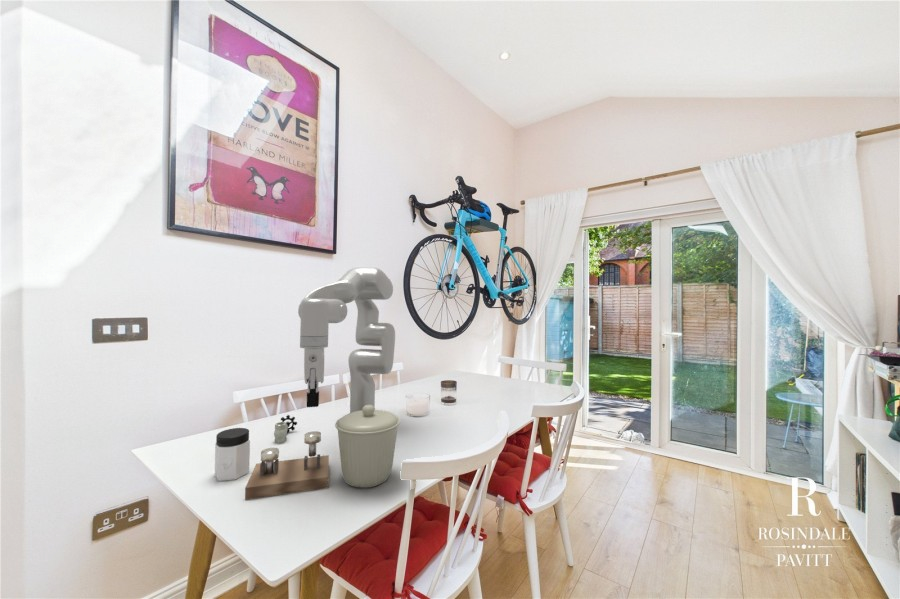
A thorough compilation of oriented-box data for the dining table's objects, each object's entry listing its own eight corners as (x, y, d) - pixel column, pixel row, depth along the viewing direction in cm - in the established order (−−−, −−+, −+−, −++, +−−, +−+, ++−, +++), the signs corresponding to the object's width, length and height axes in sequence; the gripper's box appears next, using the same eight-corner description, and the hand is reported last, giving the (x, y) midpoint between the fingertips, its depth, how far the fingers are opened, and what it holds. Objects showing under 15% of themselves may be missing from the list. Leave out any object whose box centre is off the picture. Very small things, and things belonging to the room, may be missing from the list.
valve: (288, 443, 125) (297, 431, 136) (288, 425, 125) (297, 414, 137) (268, 444, 124) (278, 432, 135) (268, 425, 124) (279, 415, 135)
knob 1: (279, 468, 100) (279, 446, 100) (277, 475, 96) (277, 453, 96) (262, 470, 99) (262, 448, 99) (259, 477, 95) (259, 455, 95)
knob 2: (320, 451, 104) (321, 430, 104) (320, 457, 100) (320, 436, 100) (304, 452, 102) (305, 432, 102) (303, 459, 98) (304, 437, 98)
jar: (208, 482, 97) (209, 439, 97) (220, 468, 105) (221, 428, 105) (244, 479, 99) (245, 436, 99) (253, 466, 107) (254, 426, 107)
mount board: (328, 465, 109) (329, 445, 109) (328, 487, 96) (328, 465, 96) (255, 474, 102) (256, 453, 103) (244, 499, 89) (245, 476, 89)
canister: (346, 463, 110) (347, 395, 110) (403, 465, 110) (405, 397, 110) (323, 494, 92) (325, 414, 92) (392, 497, 92) (393, 416, 92)
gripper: (327, 344, 95) (326, 413, 95) (328, 339, 109) (326, 398, 109) (297, 345, 93) (295, 415, 93) (302, 339, 107) (300, 400, 107)
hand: (312, 406), depth 101 cm, fingers closed
